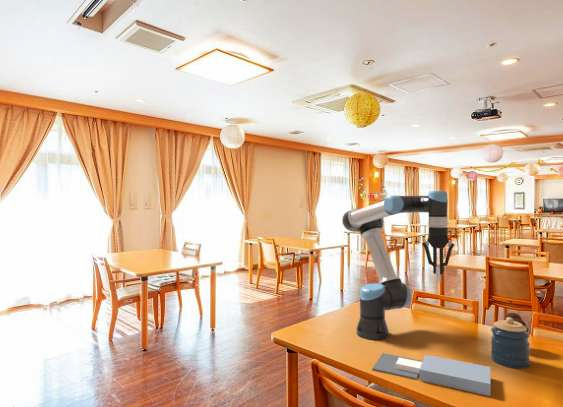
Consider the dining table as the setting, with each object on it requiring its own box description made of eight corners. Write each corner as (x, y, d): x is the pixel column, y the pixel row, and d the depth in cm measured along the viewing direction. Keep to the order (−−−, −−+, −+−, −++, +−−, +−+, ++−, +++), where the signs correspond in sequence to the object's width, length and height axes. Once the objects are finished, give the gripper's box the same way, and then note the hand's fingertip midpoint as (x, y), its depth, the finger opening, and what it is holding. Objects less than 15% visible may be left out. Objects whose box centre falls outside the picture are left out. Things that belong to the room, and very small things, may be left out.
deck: (419, 380, 130) (419, 369, 130) (425, 364, 142) (425, 354, 142) (490, 396, 119) (490, 384, 119) (490, 377, 131) (490, 366, 131)
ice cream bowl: (492, 343, 162) (492, 310, 162) (516, 342, 163) (516, 309, 163) (509, 353, 151) (509, 318, 151) (534, 352, 152) (534, 317, 152)
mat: (372, 369, 138) (372, 368, 138) (382, 354, 152) (382, 352, 152) (416, 379, 130) (416, 378, 130) (423, 362, 144) (423, 360, 144)
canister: (490, 364, 142) (490, 319, 142) (491, 352, 153) (491, 310, 153) (530, 372, 135) (530, 325, 135) (528, 359, 146) (528, 315, 146)
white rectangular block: (395, 368, 138) (395, 363, 137) (399, 362, 143) (399, 357, 143) (420, 374, 133) (420, 368, 133) (423, 367, 138) (423, 362, 138)
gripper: (420, 226, 156) (420, 281, 156) (454, 227, 149) (454, 285, 149) (423, 225, 162) (423, 278, 162) (455, 226, 156) (455, 281, 156)
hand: (438, 281), depth 156 cm, fingers closed
